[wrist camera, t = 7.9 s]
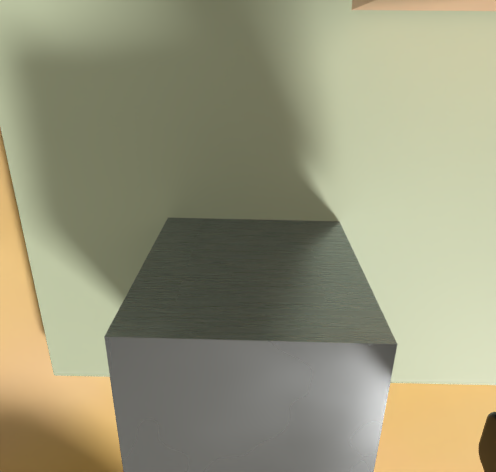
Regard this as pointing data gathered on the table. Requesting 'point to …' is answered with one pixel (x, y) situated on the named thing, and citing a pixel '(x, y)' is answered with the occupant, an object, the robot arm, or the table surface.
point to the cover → (425, 5)
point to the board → (257, 154)
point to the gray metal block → (250, 351)
